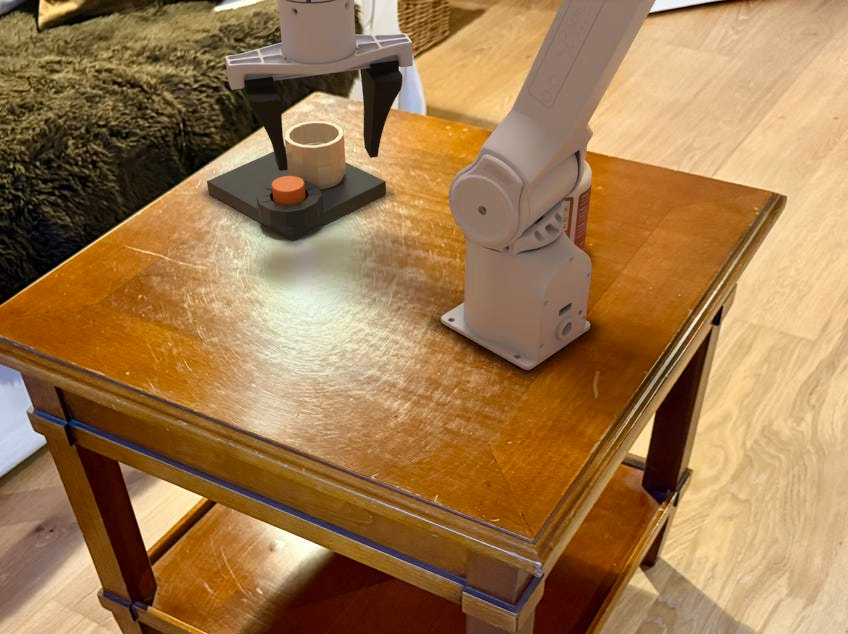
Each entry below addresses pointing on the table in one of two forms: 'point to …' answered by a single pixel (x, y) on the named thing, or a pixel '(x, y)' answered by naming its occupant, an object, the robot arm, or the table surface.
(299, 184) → the button
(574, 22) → the robot arm
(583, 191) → the pill bottle
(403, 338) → the table surface
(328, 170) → the beige hollow cylinder
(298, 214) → the scale
